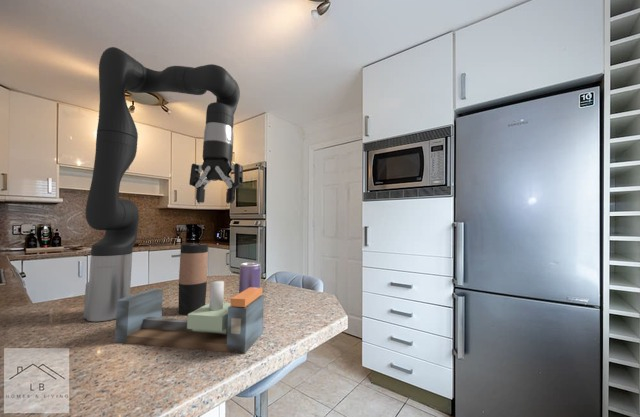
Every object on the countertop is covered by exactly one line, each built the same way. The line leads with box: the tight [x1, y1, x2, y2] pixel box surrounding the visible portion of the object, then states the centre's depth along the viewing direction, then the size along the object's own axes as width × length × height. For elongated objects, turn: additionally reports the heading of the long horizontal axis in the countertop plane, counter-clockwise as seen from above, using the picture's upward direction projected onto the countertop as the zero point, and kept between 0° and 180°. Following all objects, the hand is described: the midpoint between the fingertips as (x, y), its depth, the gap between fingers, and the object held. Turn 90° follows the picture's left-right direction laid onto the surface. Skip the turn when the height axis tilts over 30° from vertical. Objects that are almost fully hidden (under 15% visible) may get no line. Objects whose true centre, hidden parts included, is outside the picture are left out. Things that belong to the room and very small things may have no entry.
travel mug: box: [177, 242, 209, 316], centre depth 77 cm, size 8×8×20 cm
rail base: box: [114, 288, 265, 354], centre depth 59 cm, size 30×10×9 cm, turn 82°
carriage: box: [186, 280, 231, 333], centre depth 59 cm, size 8×9×10 cm
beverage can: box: [238, 262, 262, 294], centre depth 72 cm, size 6×6×15 cm
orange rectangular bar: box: [230, 287, 263, 307], centre depth 58 cm, size 3×10×2 cm, turn 172°
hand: (214, 202), depth 69 cm, fingers open, 8 cm apart
